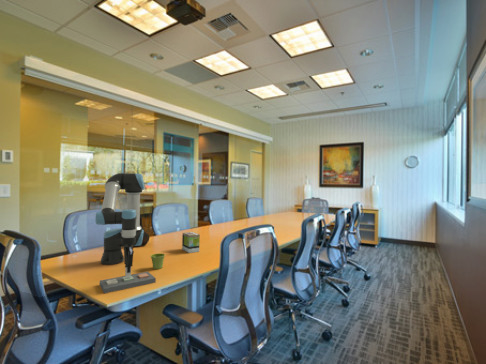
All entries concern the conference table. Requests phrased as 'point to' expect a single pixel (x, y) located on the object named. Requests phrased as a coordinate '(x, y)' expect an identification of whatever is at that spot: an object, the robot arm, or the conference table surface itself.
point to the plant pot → (157, 260)
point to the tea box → (190, 242)
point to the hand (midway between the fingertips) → (128, 277)
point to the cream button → (111, 282)
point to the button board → (126, 283)
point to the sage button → (127, 279)
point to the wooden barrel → (144, 234)
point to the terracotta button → (143, 275)
